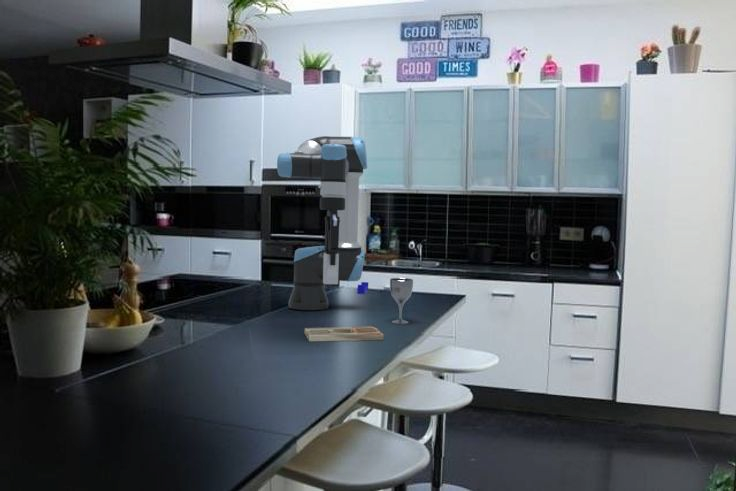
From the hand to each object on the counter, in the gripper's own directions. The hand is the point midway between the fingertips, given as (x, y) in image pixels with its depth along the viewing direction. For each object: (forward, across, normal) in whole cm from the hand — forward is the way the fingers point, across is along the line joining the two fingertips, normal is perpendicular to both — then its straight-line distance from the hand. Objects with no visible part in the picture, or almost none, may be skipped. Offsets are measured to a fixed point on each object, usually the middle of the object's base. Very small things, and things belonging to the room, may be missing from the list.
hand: (330, 275), depth 186 cm
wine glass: (+19, -22, +28) cm, 40 cm away
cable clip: (+19, -87, +26) cm, 93 cm away
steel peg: (+2, 0, 0) cm, 2 cm away
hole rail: (+19, 0, +4) cm, 19 cm away
